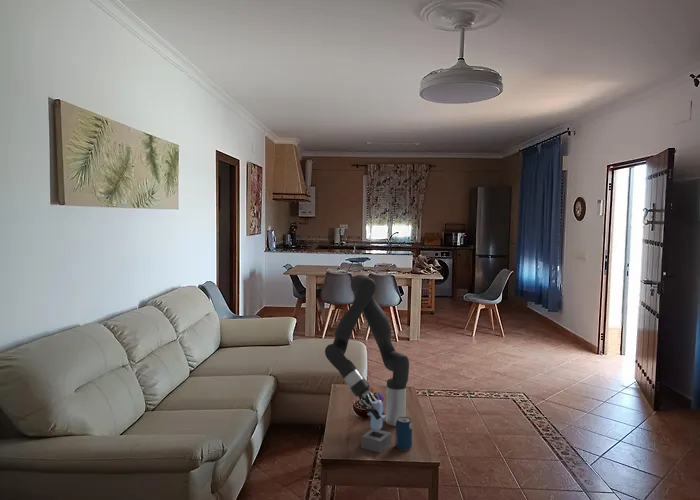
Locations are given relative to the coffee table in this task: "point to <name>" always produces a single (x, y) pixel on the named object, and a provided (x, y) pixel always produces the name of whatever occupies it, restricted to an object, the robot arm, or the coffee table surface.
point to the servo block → (379, 407)
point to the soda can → (403, 433)
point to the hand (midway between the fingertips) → (381, 416)
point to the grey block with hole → (376, 440)
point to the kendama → (377, 393)
